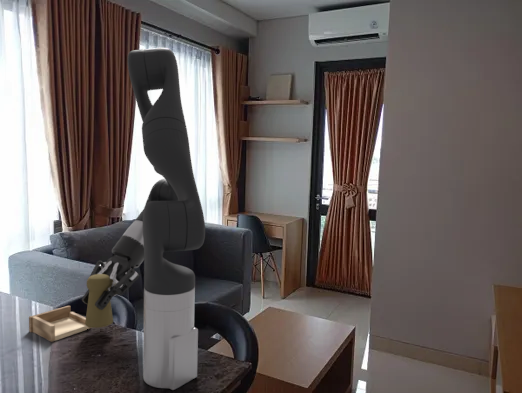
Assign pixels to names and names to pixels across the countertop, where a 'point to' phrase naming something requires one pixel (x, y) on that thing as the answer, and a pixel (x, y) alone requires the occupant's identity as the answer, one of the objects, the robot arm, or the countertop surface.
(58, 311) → the wooden open tray
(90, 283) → the cork
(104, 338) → the countertop surface
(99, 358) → the countertop surface
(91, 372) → the countertop surface
